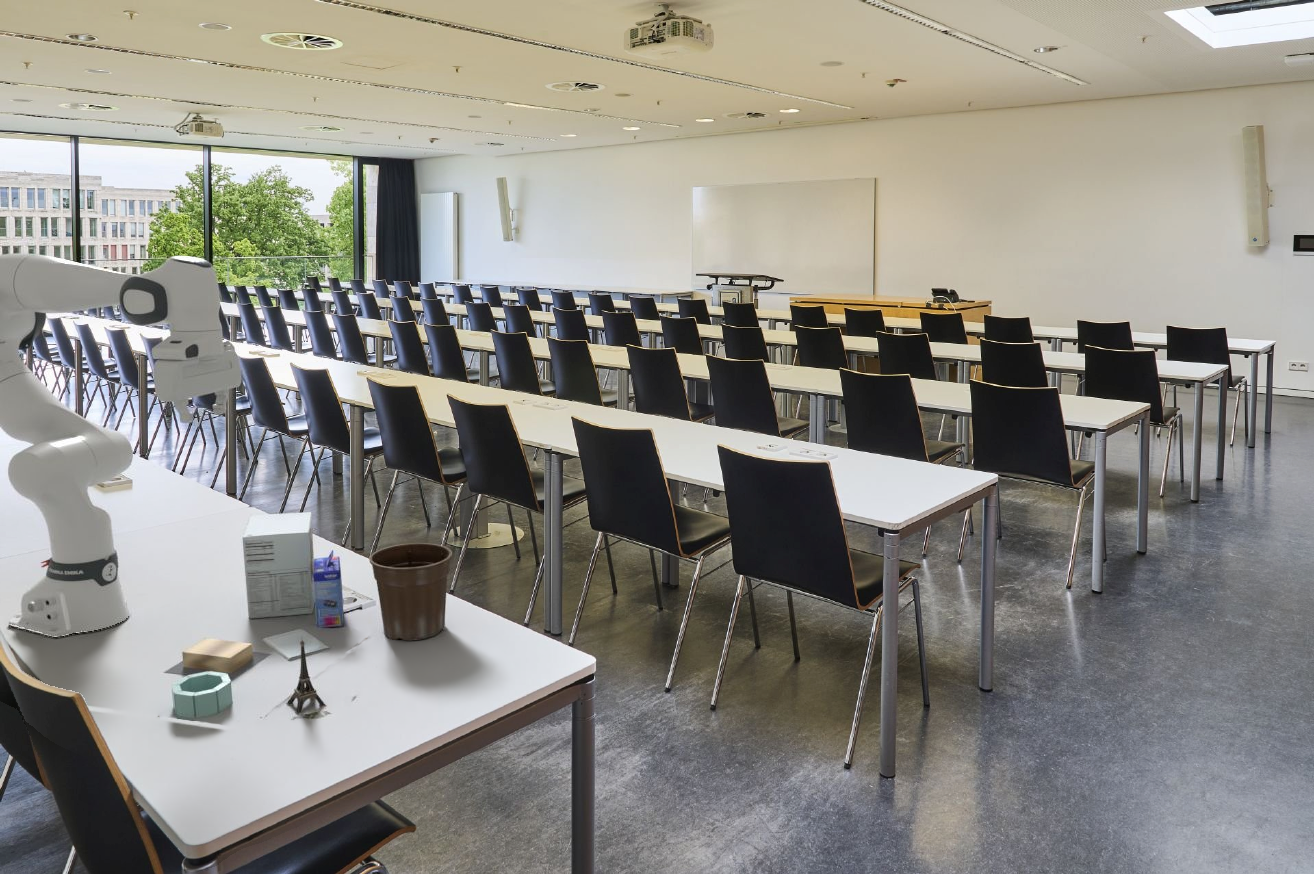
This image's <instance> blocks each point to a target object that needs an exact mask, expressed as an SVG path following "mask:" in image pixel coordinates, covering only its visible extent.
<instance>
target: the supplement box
mask: <svg viewBox="0 0 1314 874" xmlns="http://www.w3.org/2000/svg"><path fill="white" fill-rule="evenodd" d="M242 535H243V536H242V547H243V550H242V551H243V559H244V563H243V564H244V574H245V575H244V576H245V587H246V588H245V589H246V602H247V614H248V619H249V620H251V619H263V618H272V617H273V618H274V617H275V618H276V617H285V616H298V615H299V616H300V615H311V614H313V612H314V609H315V608H314V607H315V598H314V582H313V568H314V559H315V556H314V554H315V553H314V540H313V539H314V538H313V513H312V512H311V511H308V512H307V511H306V512H289V513H288V512H287V513H269V514H267V513H266V514H254V515H253V514H251V515H250V516H249V518H248V520H247V523H246V525H245V528H244V532H243V534H242Z"/></svg>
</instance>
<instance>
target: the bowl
mask: <svg viewBox="0 0 1314 874" xmlns="http://www.w3.org/2000/svg"><path fill="white" fill-rule="evenodd" d="M171 695H172V707H173V709H174V710H173V711H174V714H175V716H178V717H176V719H177V720H183V721H184V720H185V721H190V722H191V721H192V722H195V721H196V722H198V720H197V719H198V718H203V717H206V716H211V715H214V714H218V713H221V712H222V711H224V710H225V709H226V708H227V707H230V706H231V705H232V704H233V692H232V681H231V680H230V678H229V676H228V674H226V673H220V672H212V671H209V672H208V671H207V672H202V673H197V674H192V675H184V676H183V677H182V678H180V679H179V680H177V681H174V683H172V684H171ZM182 717H183V718H182ZM184 717H185V718H184ZM188 718H193V719H188ZM195 718H196V720H195Z"/></svg>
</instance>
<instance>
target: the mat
mask: <svg viewBox="0 0 1314 874" xmlns="http://www.w3.org/2000/svg"><path fill="white" fill-rule="evenodd" d="M271 655H272V653H268V652H258V651H253V659H252V660H250V661H249V662H247V663H246V664H244V665H243V666H241V667H240V668H238V669H237V670H235V671H234V672H232V673H226V672H220V673H226V674H228V676H229V678H230V680H231V682H232V681H234V680H235V679H238V677H240V676H242V675H243V674H244V673H246V672H248V671H249V670H250V669H252V668H254V666H256V665H257V664H259V663H260V662H262V661H264V660H265V659H267V658H268V657H269V656H271ZM207 671H208V672H209V671H210V670H202V669H194V668H186V667H184V666H183V660H182V661H180V662H178V663H177V664H175V665H173V666H172V667H170V668H168V669H167V670H165V671H163V673H164V674H174V675H180V676H187V675H192V674H197V673H202V672H207ZM212 672H218V671H212Z"/></svg>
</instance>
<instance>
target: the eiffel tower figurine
mask: <svg viewBox="0 0 1314 874" xmlns="http://www.w3.org/2000/svg"><path fill="white" fill-rule="evenodd" d="M300 645H301V657H300V671H299V672H300V673H299V676H298V682H297V686H296V688H294V689H293V691H294V692H293V694H292V695H291V697H290V698H289V700H288V701H287V702H286V703H285V704H286V706H288V707H289V706H293V705H294V702H295V701H297V705H296V709H295V712H294V713H295V715H297V716H293V717H292V718H290V721H295V720H296V719H306V720H317V719H322V718H324V717H327V716H328V715H332V714H333V713H331V712H329V711H327V710H324V711H318V710H317V711H312V712H308V713H305V714H304V713H303V709H304V707H303V706H304V704H305V702H306V701H308V700H309V699H311V700H313V699H314V700H316V702H317V703H318V706H319V707H320V708H321V709H322V708H324V707H327V704H326V703H324V701H323V699H322V698H321V697H320V696H319V695H318V693H317V689H315V687H314V686H313V684H312V681H311V677H310V676H309V675H310V674H309V670H308V667H307V666H308V665H307V658H306V656H305V650H304V642H303V640H302V641H301V642H300ZM352 698H353V697H352ZM354 700H355V698H353V700H352V699H351V702H353V701H354ZM299 715H302V716H299ZM259 718H260V719H263V717H262V716H261V717H259Z"/></svg>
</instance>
